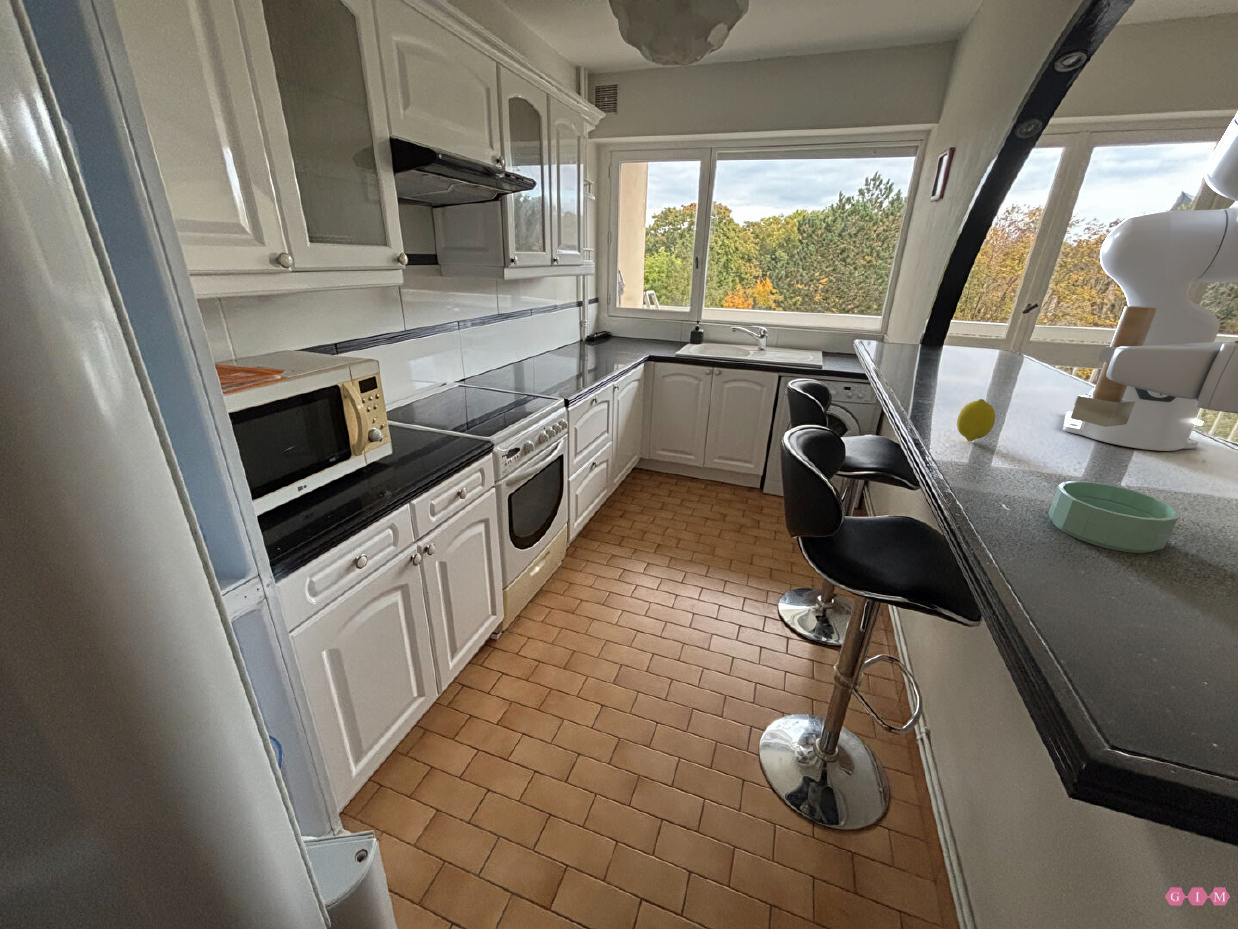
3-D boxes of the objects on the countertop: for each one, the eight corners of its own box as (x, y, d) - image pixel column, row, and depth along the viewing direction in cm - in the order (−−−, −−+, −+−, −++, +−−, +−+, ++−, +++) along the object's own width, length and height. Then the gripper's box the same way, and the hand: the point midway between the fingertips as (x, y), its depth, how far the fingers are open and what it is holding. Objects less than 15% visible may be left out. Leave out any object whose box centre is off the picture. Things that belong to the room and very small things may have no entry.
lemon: (993, 447, 90) (1006, 404, 87) (959, 445, 91) (971, 401, 88) (979, 437, 95) (991, 396, 92) (947, 435, 96) (958, 394, 93)
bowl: (1040, 505, 68) (1051, 474, 67) (1145, 525, 64) (1160, 492, 62) (1056, 539, 60) (1069, 505, 58) (1178, 565, 55) (1197, 529, 53)
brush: (1090, 415, 67) (1131, 305, 62) (1126, 424, 63) (1173, 308, 58) (1070, 418, 66) (1110, 305, 61) (1106, 427, 62) (1151, 308, 57)
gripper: (1350, 339, 52) (1176, 324, 64) (1236, 345, 46) (1068, 328, 58) (1317, 399, 54) (1156, 374, 67) (1205, 412, 48) (1050, 382, 60)
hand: (1114, 352), depth 62 cm, fingers closed on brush, 3 cm apart
